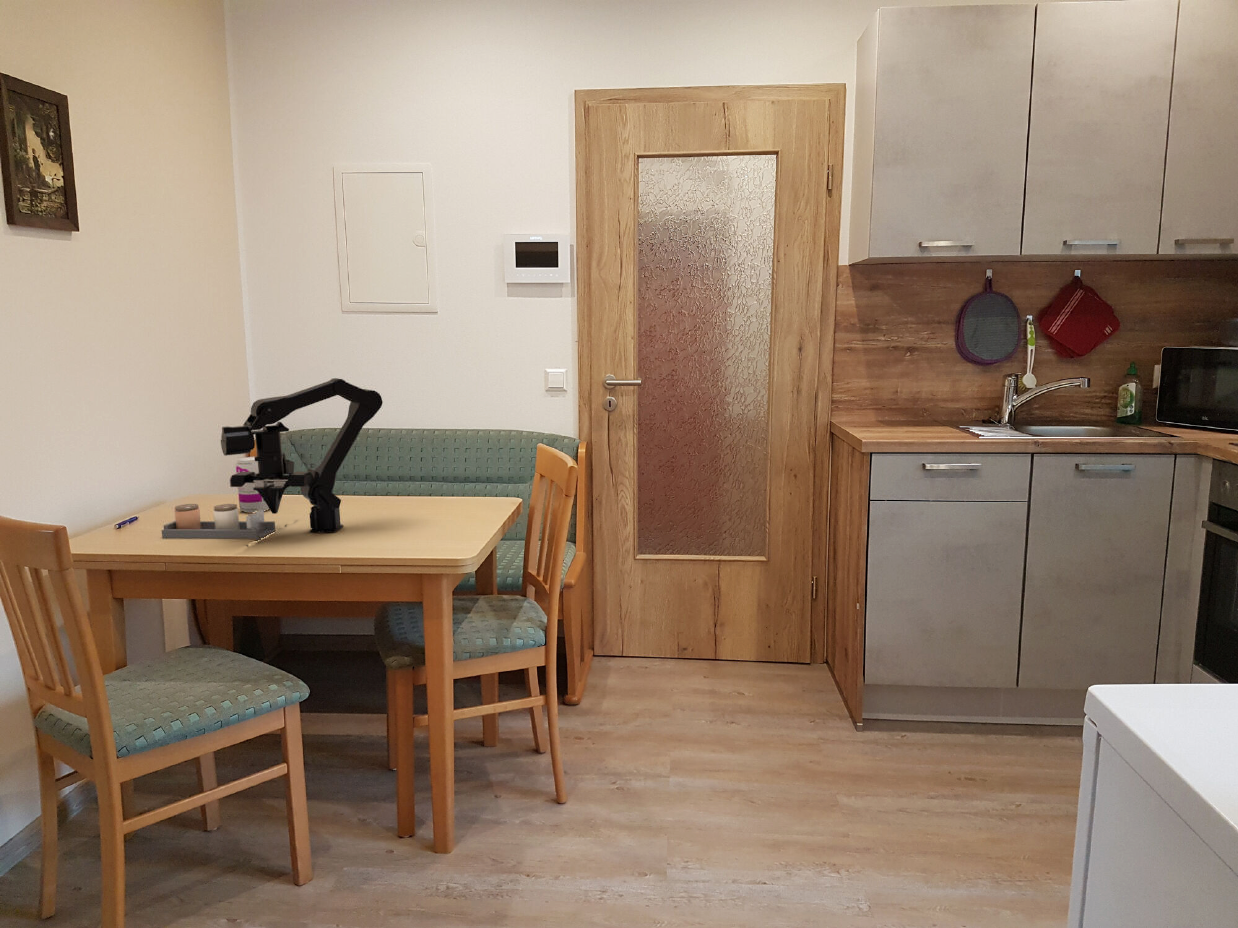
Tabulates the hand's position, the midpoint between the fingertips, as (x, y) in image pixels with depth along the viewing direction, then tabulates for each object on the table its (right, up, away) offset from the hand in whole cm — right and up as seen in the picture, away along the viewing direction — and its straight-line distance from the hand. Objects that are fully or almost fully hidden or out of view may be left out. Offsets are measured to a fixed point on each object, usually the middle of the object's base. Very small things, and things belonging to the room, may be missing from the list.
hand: (275, 513), depth 210 cm
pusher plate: (-5, -5, +1) cm, 7 cm away
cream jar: (-12, -5, +2) cm, 14 cm away
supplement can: (-18, -1, +32) cm, 37 cm away
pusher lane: (-15, -6, +2) cm, 16 cm away
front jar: (-22, -5, +2) cm, 23 cm away
